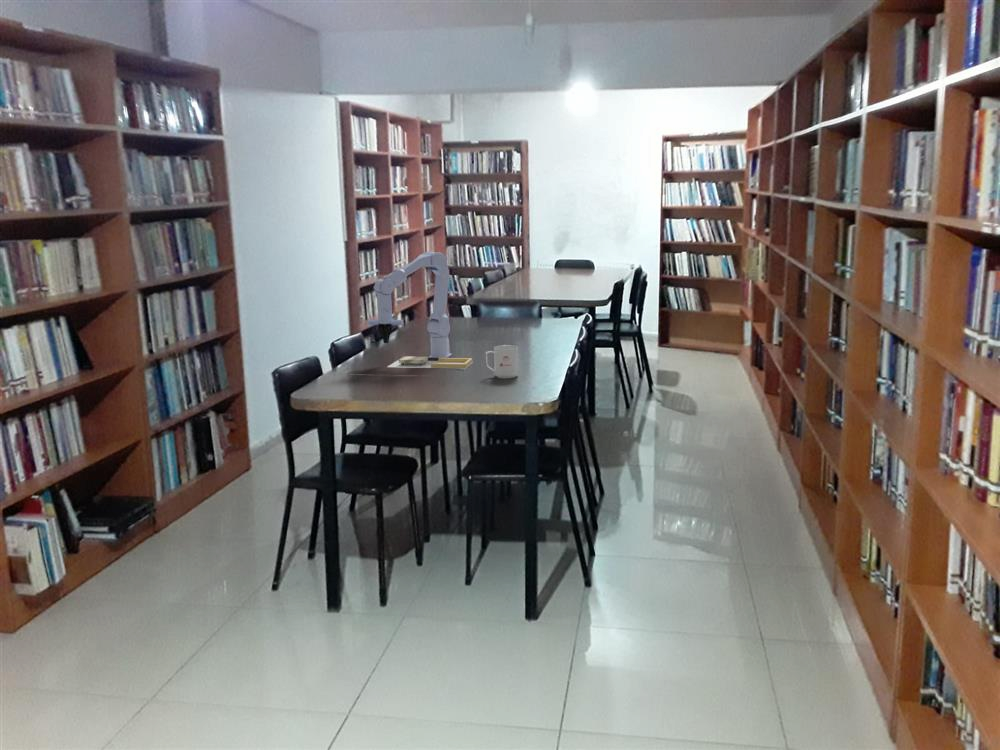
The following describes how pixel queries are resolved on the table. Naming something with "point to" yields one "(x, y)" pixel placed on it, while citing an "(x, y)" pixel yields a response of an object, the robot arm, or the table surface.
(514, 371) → the mug
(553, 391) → the table surface
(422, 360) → the beige flat block
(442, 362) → the board
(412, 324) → the table surface
